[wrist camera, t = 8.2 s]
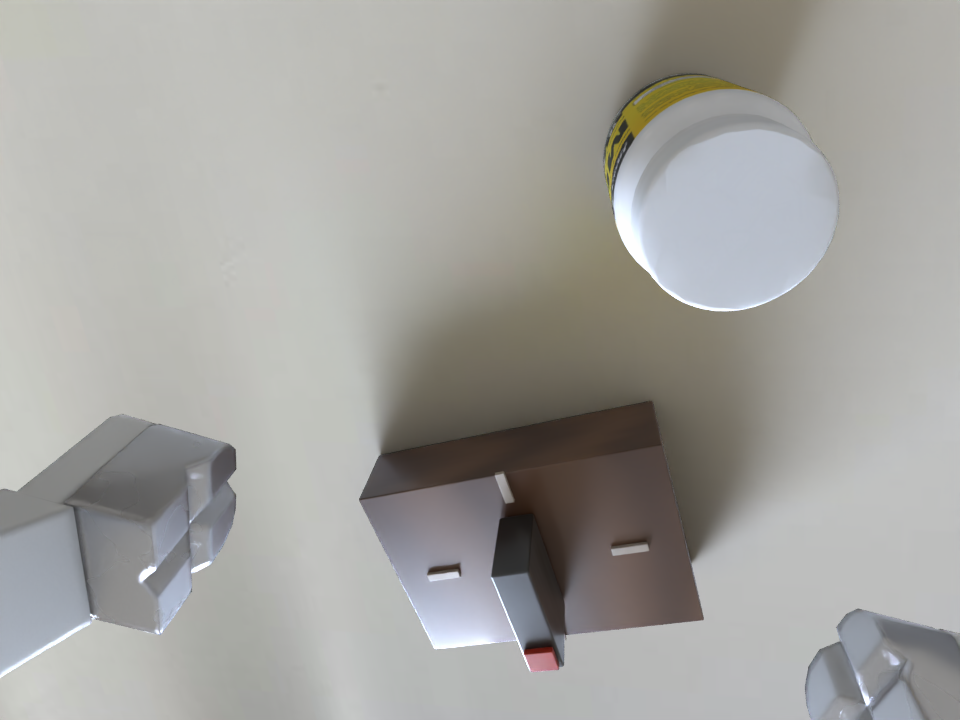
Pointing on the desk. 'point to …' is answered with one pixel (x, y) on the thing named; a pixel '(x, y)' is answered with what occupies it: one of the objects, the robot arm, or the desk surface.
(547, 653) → the dial knob
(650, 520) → the dial panel
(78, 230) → the desk surface
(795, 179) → the supplement bottle
